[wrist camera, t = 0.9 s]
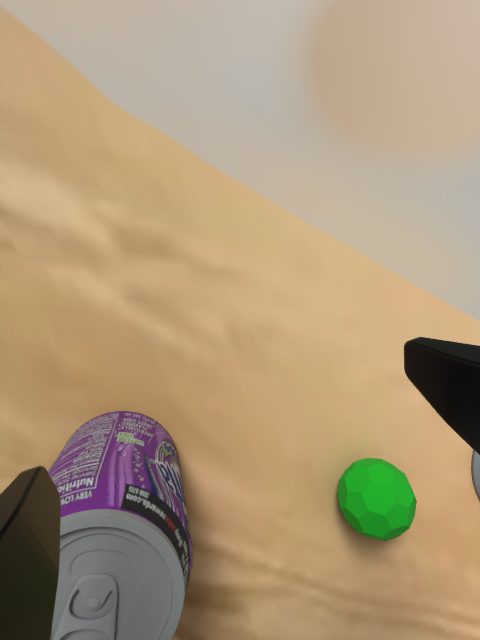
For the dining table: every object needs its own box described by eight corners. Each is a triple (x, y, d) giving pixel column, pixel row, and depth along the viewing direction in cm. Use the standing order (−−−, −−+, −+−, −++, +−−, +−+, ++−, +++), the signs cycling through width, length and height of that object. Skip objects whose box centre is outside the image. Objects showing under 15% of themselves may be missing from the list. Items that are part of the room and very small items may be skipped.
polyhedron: (315, 501, 27) (349, 540, 23) (343, 438, 28) (382, 464, 23) (370, 524, 28) (413, 566, 24) (396, 463, 29) (444, 493, 24)
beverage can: (164, 522, 25) (175, 712, 13) (50, 513, 23) (-56, 719, 11) (187, 416, 25) (217, 510, 13) (74, 399, 23) (-4, 489, 12)
